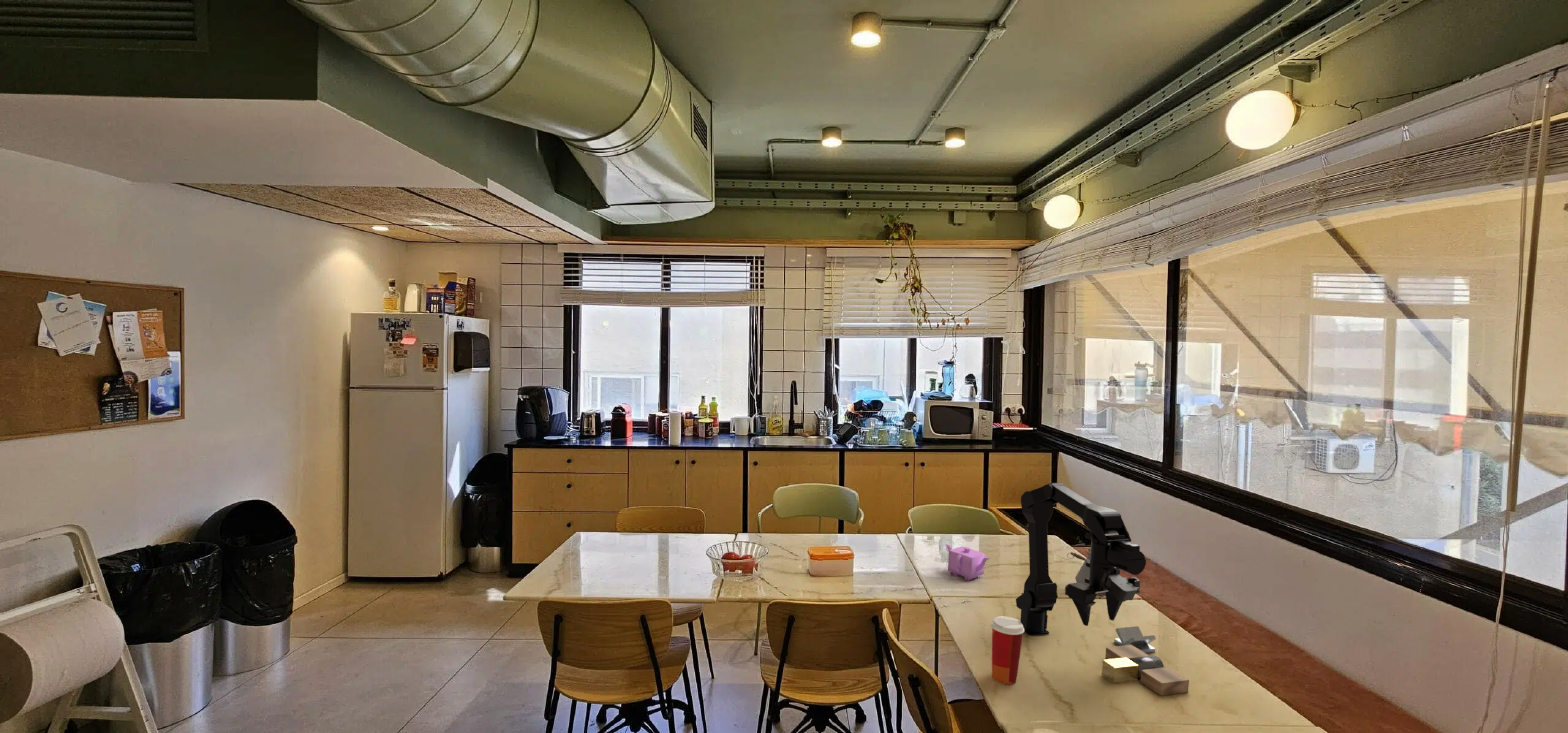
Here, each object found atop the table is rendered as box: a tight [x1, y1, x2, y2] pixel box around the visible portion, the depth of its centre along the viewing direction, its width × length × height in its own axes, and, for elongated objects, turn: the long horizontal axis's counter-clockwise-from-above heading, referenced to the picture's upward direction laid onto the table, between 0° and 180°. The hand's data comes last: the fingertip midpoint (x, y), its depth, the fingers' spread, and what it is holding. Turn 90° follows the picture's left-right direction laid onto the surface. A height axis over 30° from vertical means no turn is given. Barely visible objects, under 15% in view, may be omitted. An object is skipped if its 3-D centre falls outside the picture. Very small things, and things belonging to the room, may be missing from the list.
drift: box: [1101, 657, 1139, 684], centre depth 166 cm, size 7×4×4 cm, turn 106°
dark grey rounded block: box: [1130, 655, 1165, 678], centre depth 168 cm, size 7×4×4 cm, turn 106°
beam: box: [1104, 645, 1190, 696], centre depth 168 cm, size 8×18×3 cm, turn 16°
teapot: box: [944, 544, 992, 582], centre depth 232 cm, size 18×13×10 cm
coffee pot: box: [1066, 548, 1105, 595], centre depth 221 cm, size 21×12×15 cm, turn 125°
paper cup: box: [990, 615, 1025, 685], centre depth 163 cm, size 8×8×14 cm
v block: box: [1113, 626, 1156, 654], centre depth 183 cm, size 7×7×4 cm
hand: (1098, 622), depth 167 cm, fingers open, 9 cm apart
